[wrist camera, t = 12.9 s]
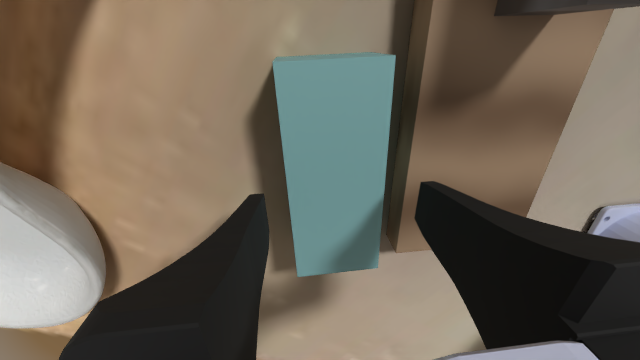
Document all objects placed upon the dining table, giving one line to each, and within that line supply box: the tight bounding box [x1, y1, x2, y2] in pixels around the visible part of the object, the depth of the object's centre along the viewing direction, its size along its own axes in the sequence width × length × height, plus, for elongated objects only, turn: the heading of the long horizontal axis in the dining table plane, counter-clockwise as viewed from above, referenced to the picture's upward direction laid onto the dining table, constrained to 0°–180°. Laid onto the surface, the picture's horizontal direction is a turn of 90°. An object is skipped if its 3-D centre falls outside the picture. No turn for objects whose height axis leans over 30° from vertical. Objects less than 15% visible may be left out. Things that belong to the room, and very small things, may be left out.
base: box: [386, 0, 640, 253], centre depth 13 cm, size 18×9×6 cm, turn 2°
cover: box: [273, 52, 396, 277], centre depth 15 cm, size 12×5×4 cm, turn 2°
